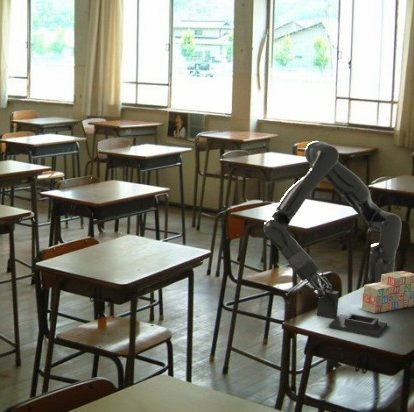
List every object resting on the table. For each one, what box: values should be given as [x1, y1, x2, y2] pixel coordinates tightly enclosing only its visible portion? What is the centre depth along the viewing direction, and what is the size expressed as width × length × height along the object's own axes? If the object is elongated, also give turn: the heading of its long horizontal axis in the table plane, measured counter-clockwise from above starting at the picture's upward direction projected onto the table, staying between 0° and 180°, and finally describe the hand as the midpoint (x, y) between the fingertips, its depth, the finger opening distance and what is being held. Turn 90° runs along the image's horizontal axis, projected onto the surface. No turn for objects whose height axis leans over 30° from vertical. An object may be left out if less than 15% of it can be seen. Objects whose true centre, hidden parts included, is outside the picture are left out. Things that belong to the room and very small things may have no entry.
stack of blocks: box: [361, 270, 414, 314], centre depth 321 cm, size 21×6×12 cm, turn 121°
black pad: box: [316, 289, 340, 320], centre depth 310 cm, size 4×6×9 cm, turn 57°
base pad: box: [328, 313, 388, 338], centre depth 299 cm, size 14×16×3 cm
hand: (332, 302), depth 309 cm, fingers open, 6 cm apart
